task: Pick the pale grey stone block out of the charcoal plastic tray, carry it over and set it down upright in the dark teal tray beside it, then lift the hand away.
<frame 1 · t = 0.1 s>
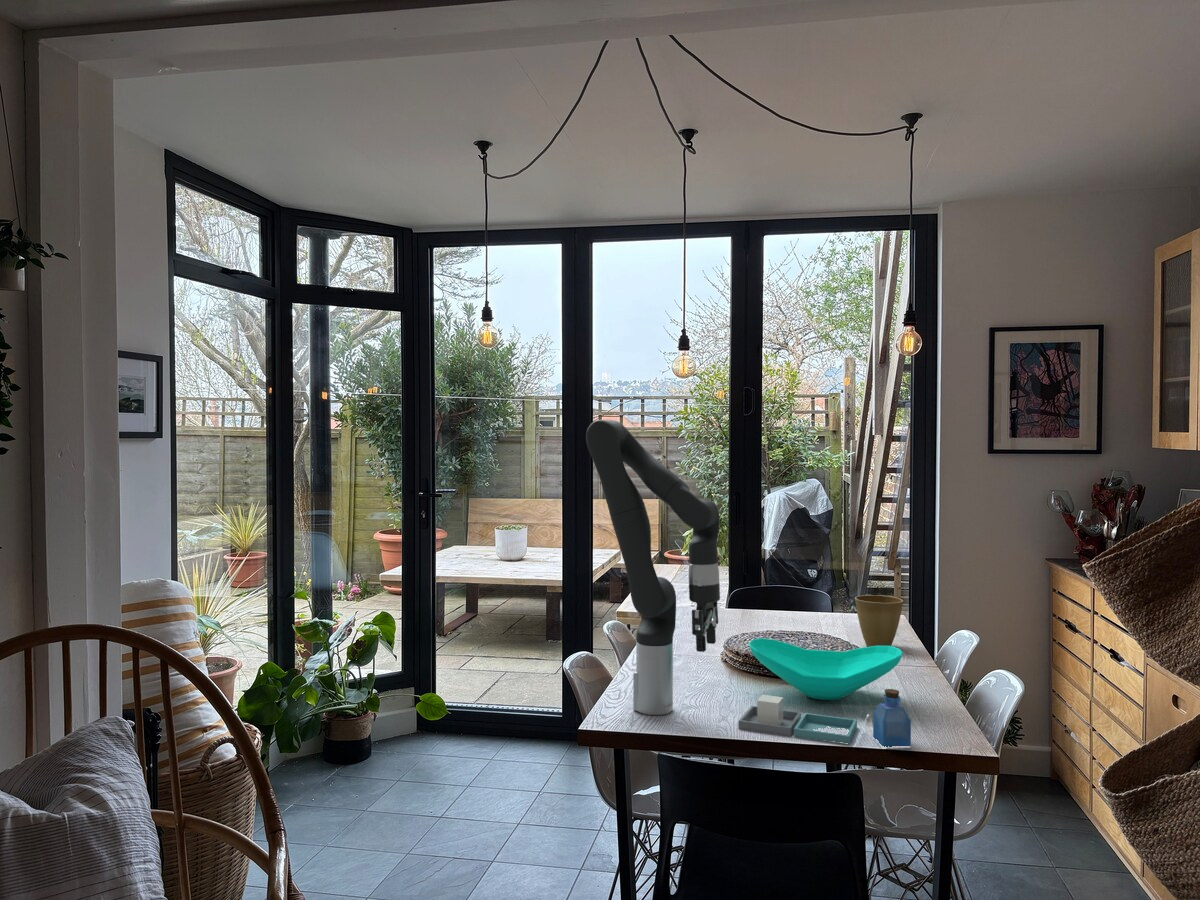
hand: (706, 647, 209), 17 cm above the table, tool pointing down, fingers open, 8 cm apart
teal tray: (825, 734, 197), on the table
plant pot: (878, 647, 278), on the table
table top decor: (823, 697, 226), on the table
charcoal tray: (770, 726, 203), on the table
perfume bottle: (891, 745, 191), on the table
stone block: (770, 723, 203), point 1 cm above the table, touching charcoal tray
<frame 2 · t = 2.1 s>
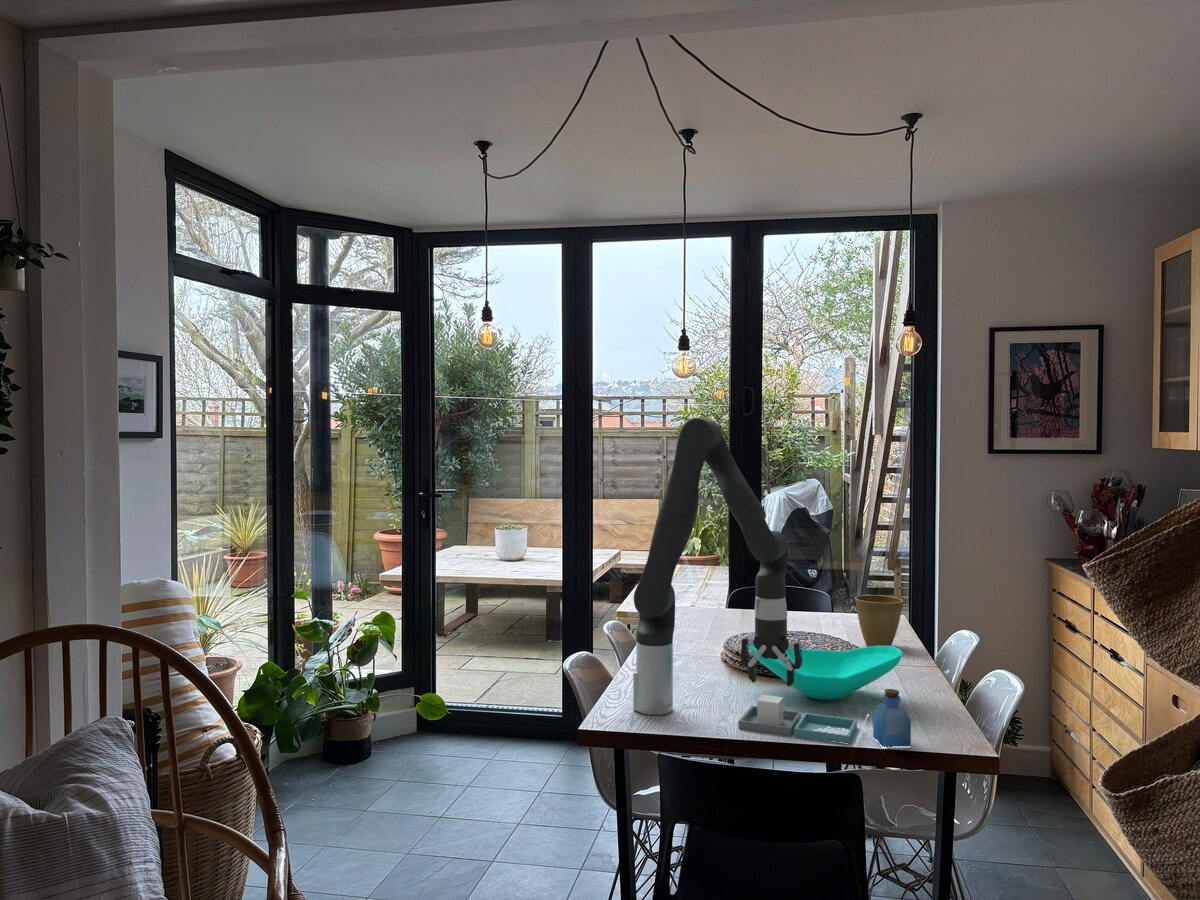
hand: (771, 683, 203), 10 cm above the table, tool pointing down, fingers open, 8 cm apart
nothing on the table moved.
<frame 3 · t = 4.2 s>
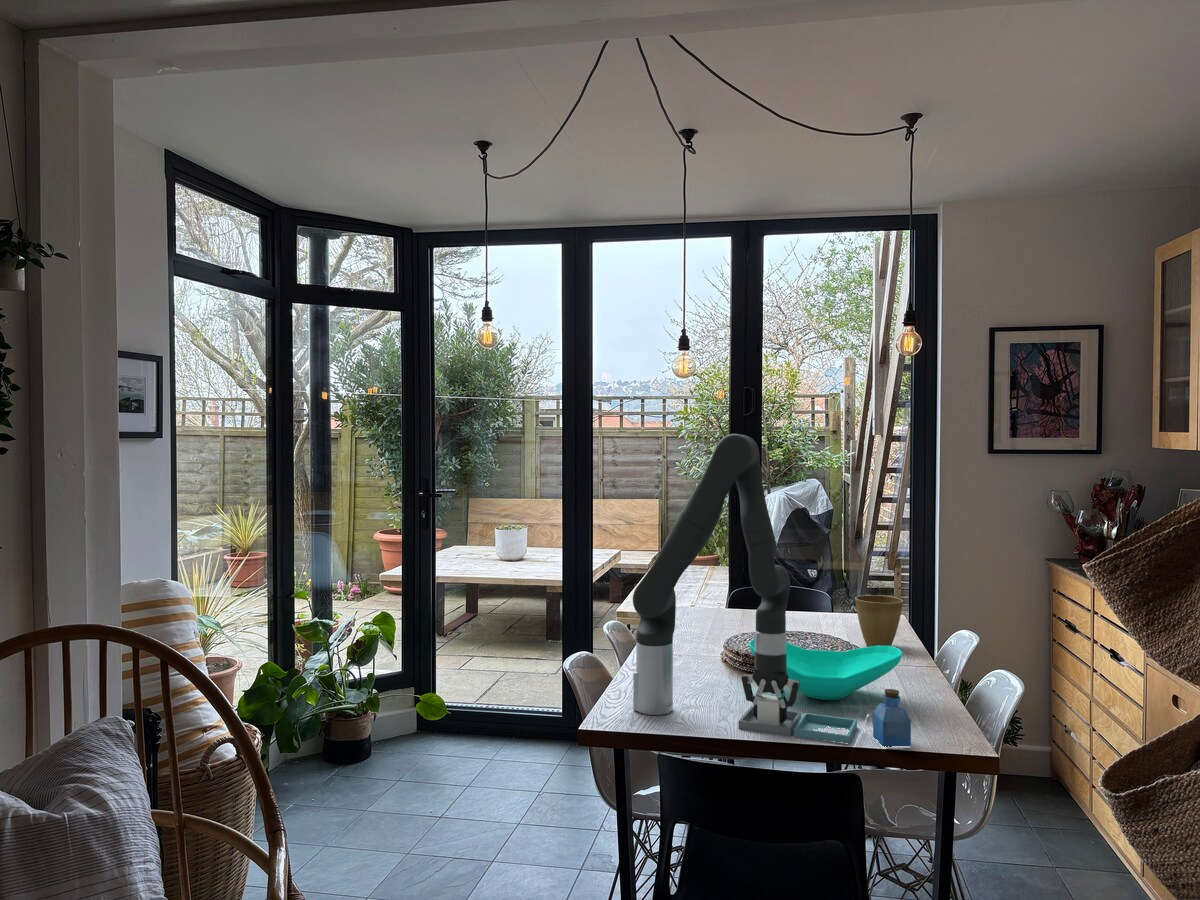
hand: (770, 720, 203), 1 cm above the table, tool pointing down, fingers closed on stone block, 5 cm apart
stone block: (770, 723, 203), point 1 cm above the table, touching charcoal tray, gripper
everything else where it was.
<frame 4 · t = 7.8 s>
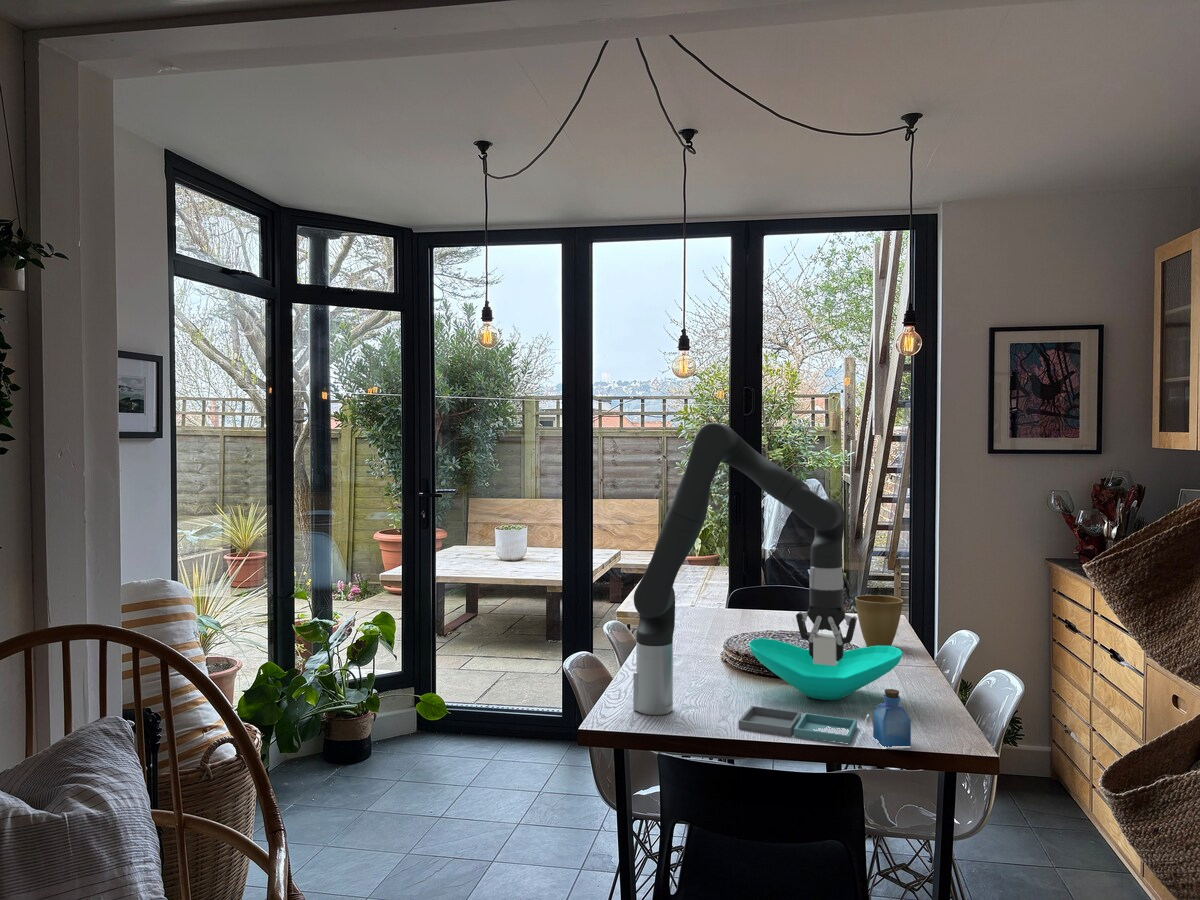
hand: (826, 658, 197), 18 cm above the table, tool pointing down, fingers closed on stone block, 5 cm apart
stone block: (826, 662, 197), point 17 cm above the table, touching gripper
everything else where it was.
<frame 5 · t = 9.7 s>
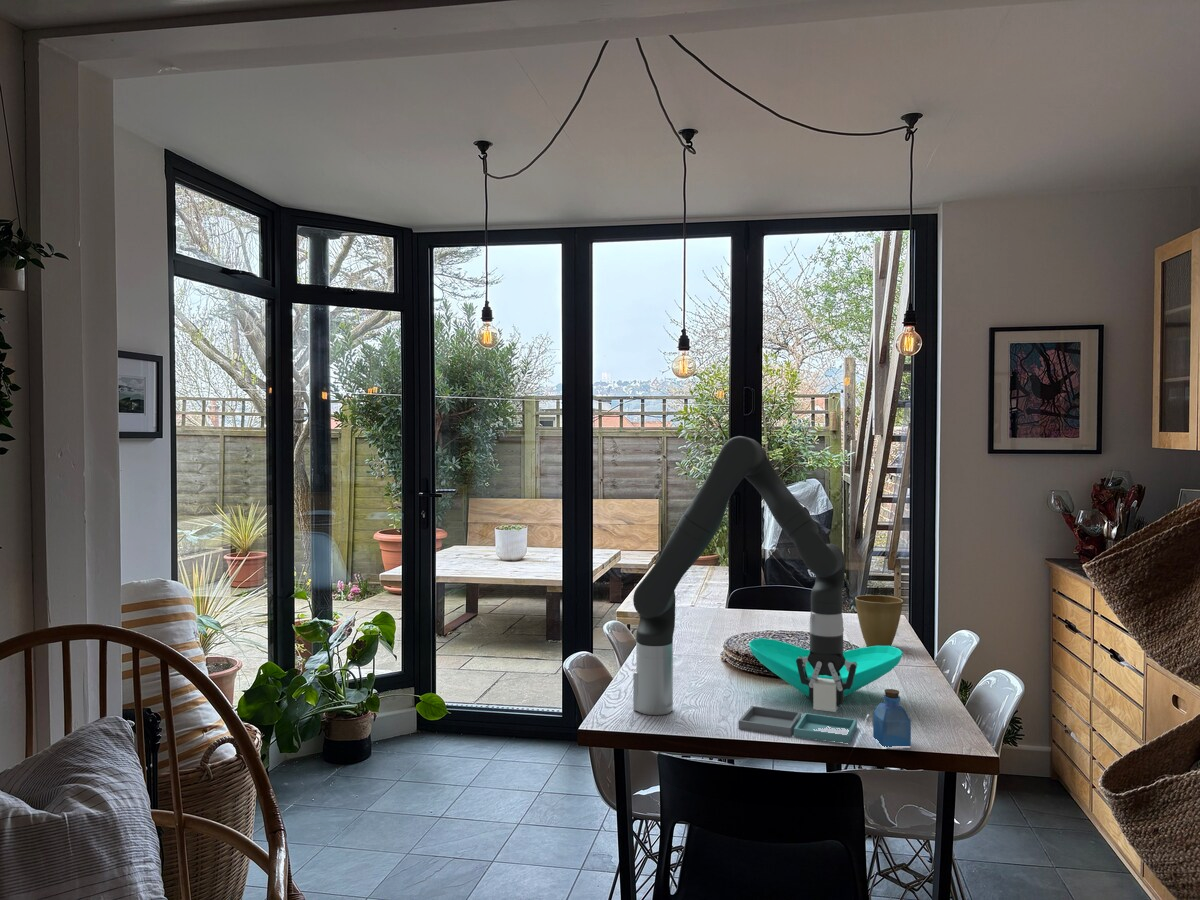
hand: (826, 704, 197), 7 cm above the table, tool pointing down, fingers closed on stone block, 5 cm apart
stone block: (826, 707, 197), point 6 cm above the table, touching gripper
everything else where it was.
when the fingers open (3 cm above the table, at t = 11.4 s): stone block drops 1 cm, resting on teal tray.
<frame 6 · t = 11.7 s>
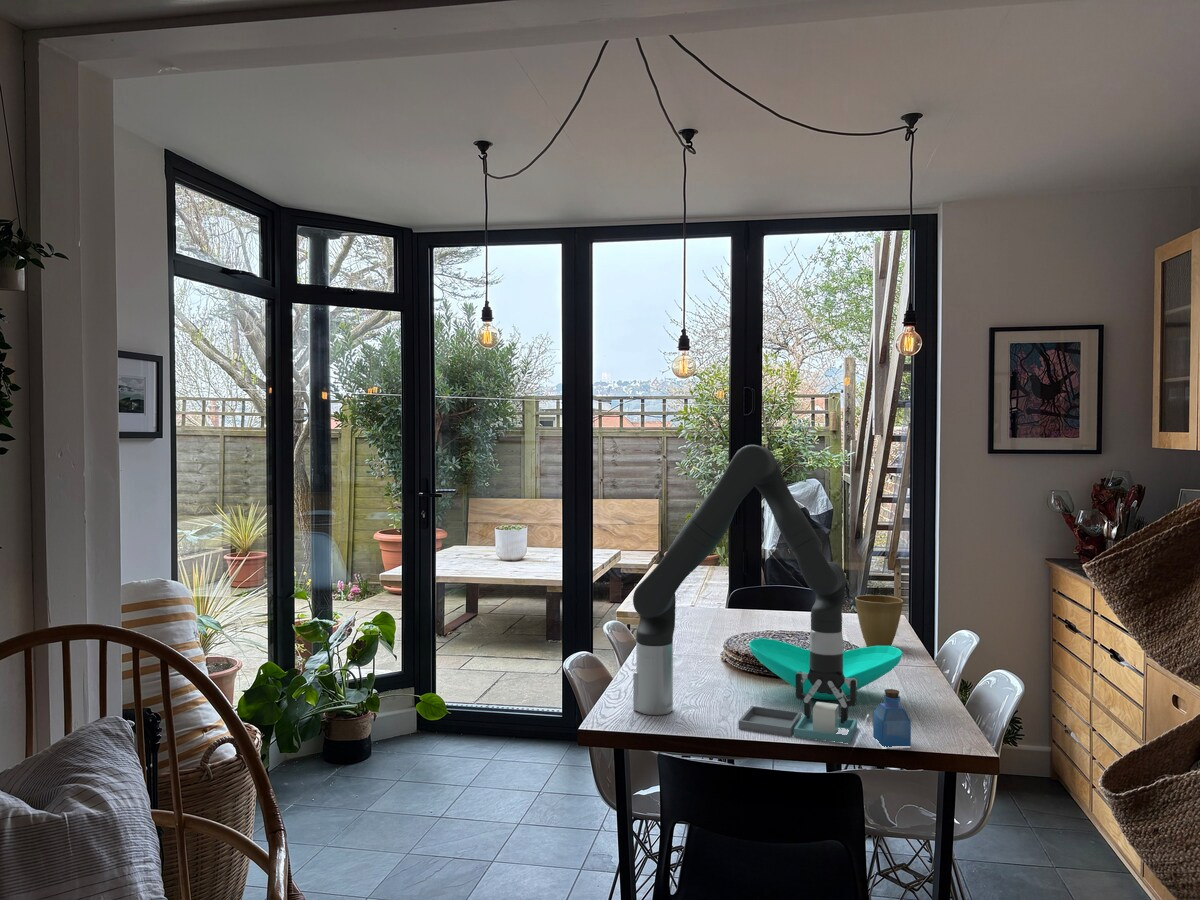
hand: (825, 720, 197), 3 cm above the table, tool pointing down, fingers open, 7 cm apart
stone block: (825, 731, 197), point 1 cm above the table, touching teal tray
everything else where it was.
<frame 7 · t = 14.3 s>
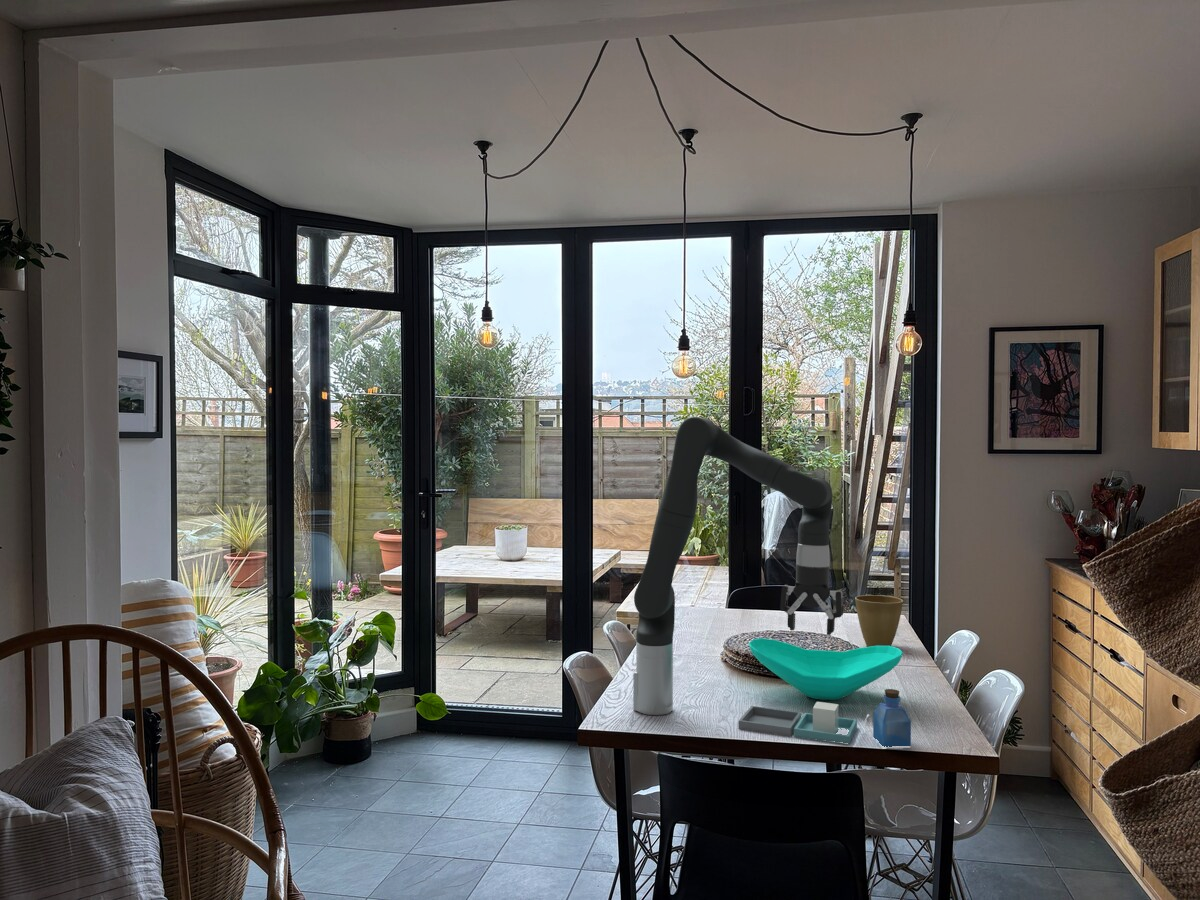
hand: (810, 632, 200), 23 cm above the table, tool pointing down, fingers open, 8 cm apart
nothing on the table moved.
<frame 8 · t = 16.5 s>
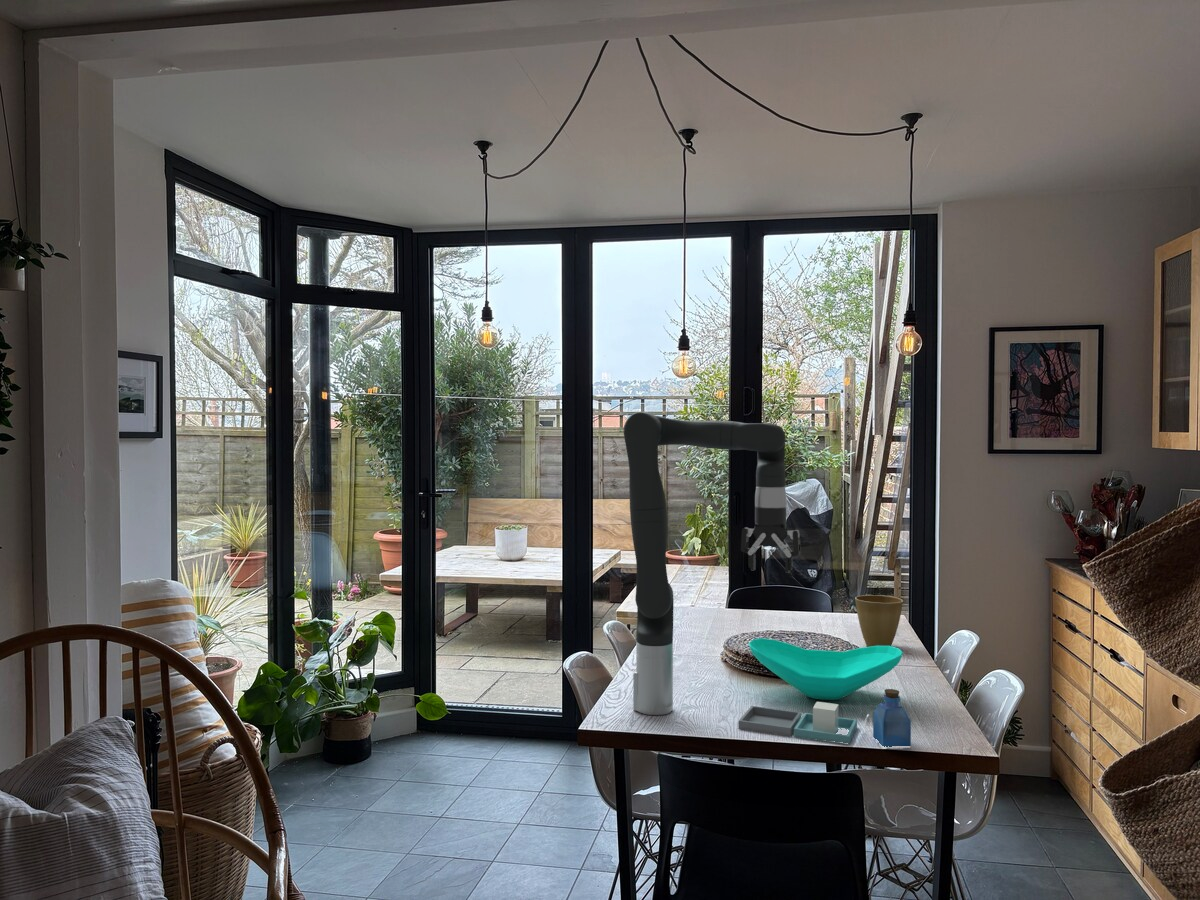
hand: (770, 571, 208), 36 cm above the table, tool pointing down, fingers open, 8 cm apart
nothing on the table moved.
at the end: stone block 0.1 cm off-centre on the teal tray, point 0.6 cm above the teal tray's base; stone block tilted 0°; the gripper is holding nothing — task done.
